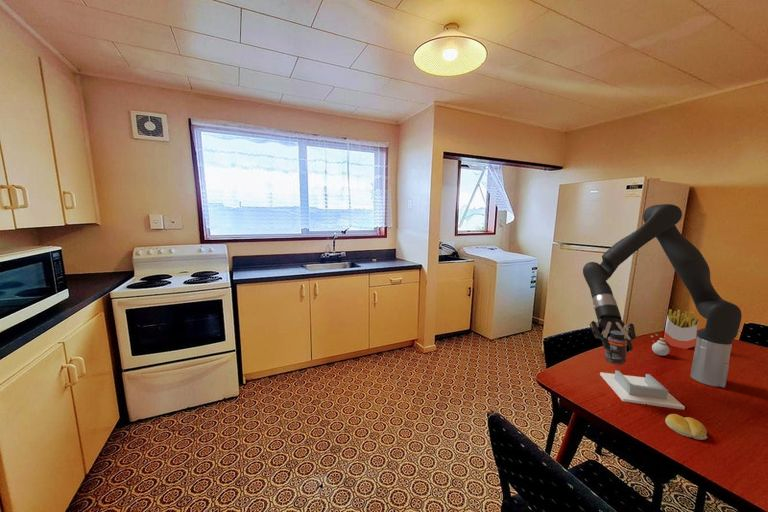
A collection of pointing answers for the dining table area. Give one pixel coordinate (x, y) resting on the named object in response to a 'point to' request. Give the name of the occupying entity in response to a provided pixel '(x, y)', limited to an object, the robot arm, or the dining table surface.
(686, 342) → the french fries container
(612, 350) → the supplement bottle
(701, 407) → the dining table surface
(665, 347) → the ornament
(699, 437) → the bread roll
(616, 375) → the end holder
